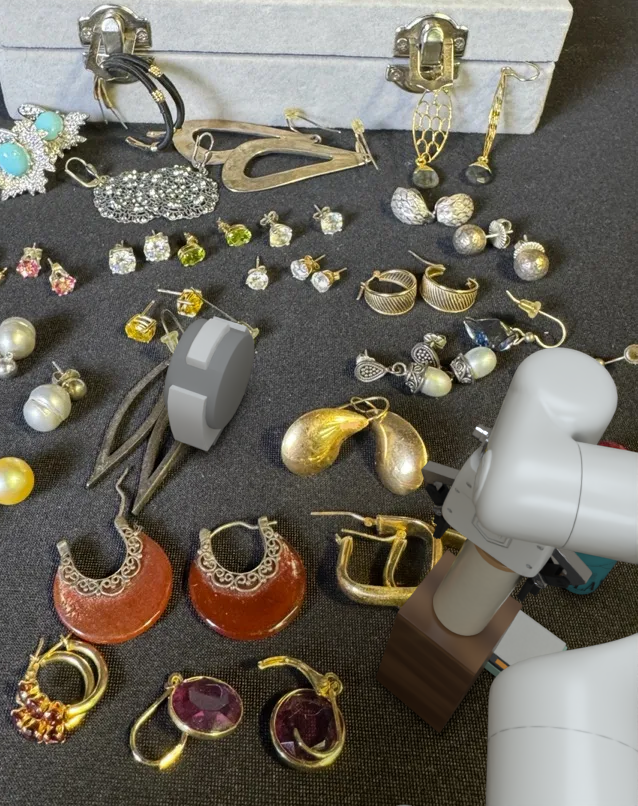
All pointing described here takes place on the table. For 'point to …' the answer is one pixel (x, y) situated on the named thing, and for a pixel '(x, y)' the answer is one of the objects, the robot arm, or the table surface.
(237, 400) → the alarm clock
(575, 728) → the robot arm
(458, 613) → the canister
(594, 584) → the beverage bottle
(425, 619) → the wooden block
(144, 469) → the table surface
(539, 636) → the scale
